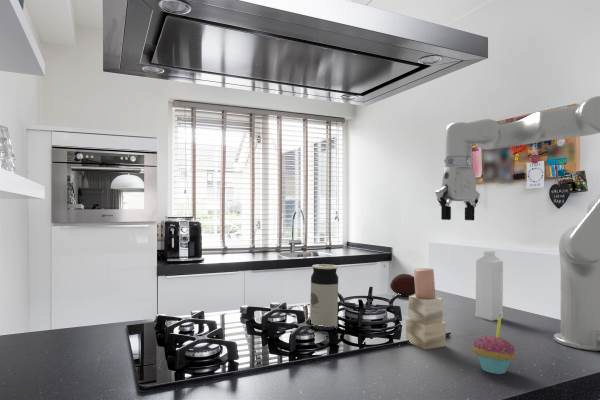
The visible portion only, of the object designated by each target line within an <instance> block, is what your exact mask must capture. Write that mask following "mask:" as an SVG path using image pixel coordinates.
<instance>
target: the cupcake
mask: <svg viewBox="0 0 600 400" xmlns="http://www.w3.org/2000/svg"><path fill="white" fill-rule="evenodd" d="M500 317H501V314H500ZM500 317H498V320H497V323H496V334H495V336H492V335H485V336H482V337H478V338H477V339H475V340H474V341H473V343H472V349H471V350H472V352H473V353H475V354H476V355H477V357H478V360H479V364H480V367H481V368H480V369H482V370H483V371H484V372H487V373H489V374H493V375H495V374H496V375H502V374H506V372H507V369H508V366H509V364H510V362H511V361H512V360H513V359H514V358H515V357H516V348H515V346H514V345H513V344H512V343H511V342H509V341H508V340H506V339H505V338H504V337H500V334H501V324H502V319H501V318H500Z"/></svg>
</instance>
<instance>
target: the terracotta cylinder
mask: <svg viewBox="0 0 600 400" xmlns="http://www.w3.org/2000/svg"><path fill="white" fill-rule="evenodd" d="M434 272H435V270H434V268H424V267H423V268H415V269H413V276H414V281H415V294H414V296H416V297H417V298H423V299H428V298H434V297H436V285H435V273H434Z"/></svg>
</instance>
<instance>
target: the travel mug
mask: <svg viewBox="0 0 600 400" xmlns="http://www.w3.org/2000/svg"><path fill="white" fill-rule="evenodd" d="M311 268H312V269H313V271H312V274H311V276H310V307H309V308H310V310H309V321H310V320H311V324H313V325H323V326H335V327H337V328H338V315H339V314H338V312H339V311H338V309H339V302H338V301H339V276H338V273H337V270H338V268H339V267H338V265H336V264H325V263H322V264H319V263H318V264H313V265H312V266H311Z"/></svg>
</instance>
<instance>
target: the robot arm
mask: <svg viewBox="0 0 600 400" xmlns="http://www.w3.org/2000/svg"><path fill="white" fill-rule="evenodd" d="M445 128H446V129H445V159H444V165H445V167H444V168H443V174H442V180H441V181H442V182H441V187H440V188H439V189H437V190H435V192H434V193H435V195H436V198H437V199H436V200H437V201H438V203H439V207H441V209H440V210H441V213H440V214H441V216H440V217H441V220H442V221H443V220H444V221H451V218H452V206H450V205H451V203H452V202H453V201H454V202H463V203H464V205H465V206H466V207H464V220H465V221H475V208H476V207H477V204H478V203H479V199H480V197H481V193H479V192H478V191H477V182H476V174H475V171H474V170H475V169H474V168H473V145H475V146H476V147H477V148H479V149H481V150H497V149H504V148H512V147H518V146H522V145H523V146H524V145H530V144H536V143H541V142H546V141H553V140H562V139H567V138H568V139H569V138H578V137H585V136H592V135H597V134H598V133H600V95H599V96H598V95H597V96H593V97H590V98H588V99H587V100H585V101H584V102H583V103H582V104H578V105H573V106H572V105H570V106H565V107H559V108H551V109H544V110H543V109H542V110H540V111H537V112H534V113H532V114H530V115H528V116H526V117H524V118H521V119H519V120H516V121H512V122H507V123H502V124H499V123H498V122H497V121H496V120H494V119H490V118H485V119H484V118H483V119H479V120H475V121H474V120H473V121H469V122H465V121H464V122H463V121H462V122H459V121H457V122H453V123H450V124H448V125H447V126H446V127H445ZM586 212H587V213H586V215H585V216H584V218H583V219H582V221H580V223H579V224H578V225H574V226H571V227H568V228H567V229H566V230H565V231H563V233H562V234H561V236H560V238H559V243H558V250H559V251H558V253H559V260H560V263H559V264H560V265H559V266H560V332H557V333H554V334H553V340H554V341H555V342H557V343H559V344H561V345H564V346H567V347H571V348H575V349H579V350H586V351H595V352H600V191H599V192H598V193H597V194H596V195H595V196H594V197H593V198H592V200H591V201H590V202H589V203H588V205H587V211H586Z"/></svg>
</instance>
